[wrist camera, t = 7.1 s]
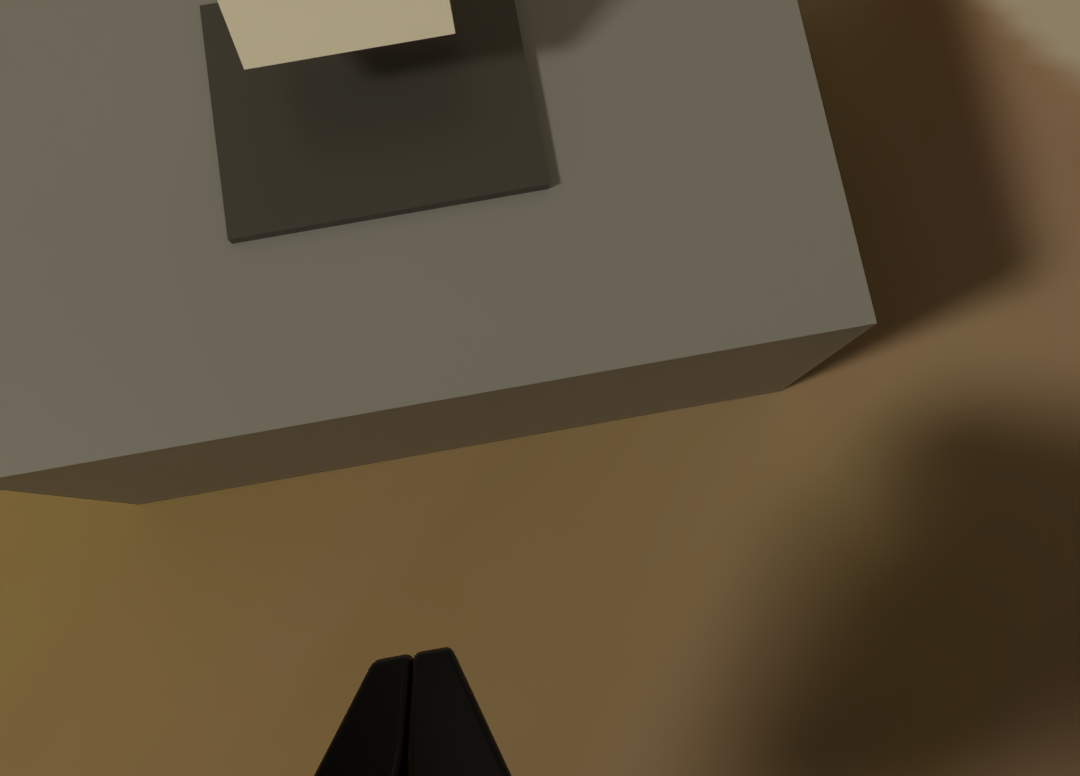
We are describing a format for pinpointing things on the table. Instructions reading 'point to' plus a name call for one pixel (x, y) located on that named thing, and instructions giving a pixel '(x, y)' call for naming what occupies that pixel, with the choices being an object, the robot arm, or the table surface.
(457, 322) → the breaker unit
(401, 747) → the robot arm
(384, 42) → the breaker lever
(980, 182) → the table surface
